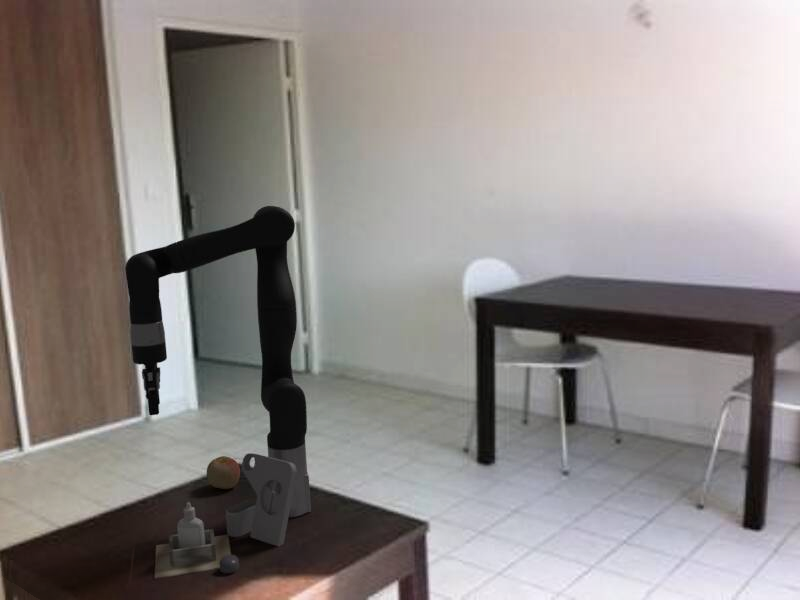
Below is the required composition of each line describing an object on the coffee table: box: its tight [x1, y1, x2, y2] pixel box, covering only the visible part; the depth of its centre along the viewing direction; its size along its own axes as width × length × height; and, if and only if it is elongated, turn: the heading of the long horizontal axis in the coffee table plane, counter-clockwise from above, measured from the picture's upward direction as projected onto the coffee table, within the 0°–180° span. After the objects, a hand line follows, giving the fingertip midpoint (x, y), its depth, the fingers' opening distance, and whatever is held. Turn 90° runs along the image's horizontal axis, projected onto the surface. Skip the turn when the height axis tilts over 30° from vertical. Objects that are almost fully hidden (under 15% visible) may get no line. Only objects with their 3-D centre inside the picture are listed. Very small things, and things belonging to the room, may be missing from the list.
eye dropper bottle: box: [176, 501, 205, 549], centre depth 182 cm, size 4×6×12 cm
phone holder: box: [225, 453, 297, 547], centre depth 191 cm, size 17×10×18 cm, turn 53°
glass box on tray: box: [154, 528, 232, 580], centre depth 183 cm, size 16×16×4 cm
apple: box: [206, 455, 241, 490], centre depth 224 cm, size 9×9×8 cm
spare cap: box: [219, 554, 240, 575], centre depth 176 cm, size 4×4×2 cm
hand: (154, 409), depth 193 cm, fingers open, 8 cm apart
